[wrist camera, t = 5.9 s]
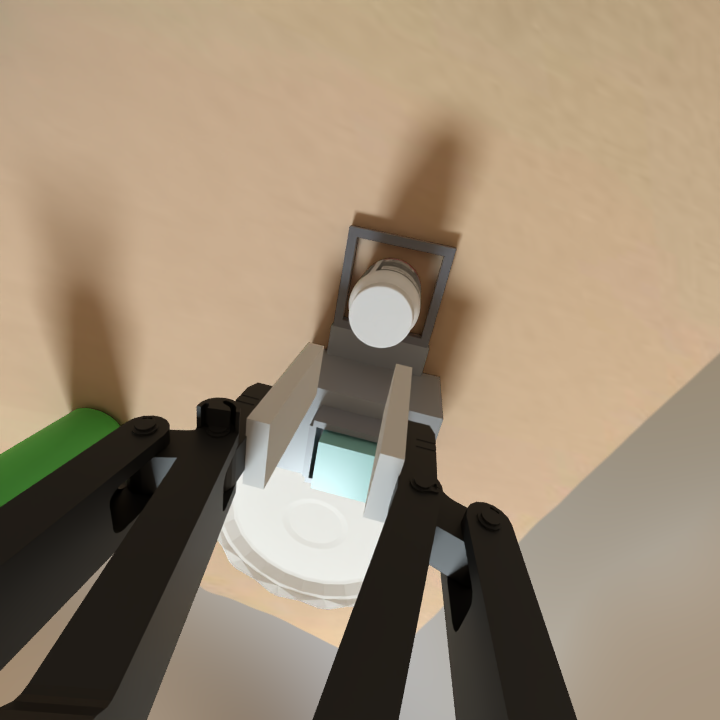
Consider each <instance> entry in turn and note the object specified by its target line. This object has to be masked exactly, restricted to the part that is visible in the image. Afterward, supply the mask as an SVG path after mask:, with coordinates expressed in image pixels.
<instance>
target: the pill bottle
mask: <svg viewBox="0 0 720 720" xmlns="http://www.w3.org/2000/svg"><path fill="white" fill-rule="evenodd" d="M420 307H421V283H420V279H419V276H418V274H417V273H416V271H415V270H414V269H413V267H412V266H410V265H409V264H408V263H406V262H404V261H402V260H399V259H394V258H388V259H383V260H380V261H378V262H376V263H374V264H373V265H372V266H370V267H369V268H368V270H367V271H366V272H365V273H364V275H363V276H362V277H361V278H360V280H359V281H358V282H357V283H356V285H355V286H354V288H353V290H352V292H351V295H350V299H349V322H350V326H351V329H352V330H353V332H354V334H355V335H356V336H357V337H358V338H359V339H360V340H361V341H362V342H363V343H365V344H367V345H369V346H372V347H377V348H386V347H391V346H394V345H396V344H398V343H400V342H401V341H402V340H403V339H404V338H405V337H406V336H407V335H408V333H409V332H410V330H411V329H412V328H413V326H414V325H415V323H416V322H417V319H418V317H419V313H420Z"/></svg>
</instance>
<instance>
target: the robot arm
mask: <svg viewBox="0 0 720 720" xmlns="http://www.w3.org/2000/svg"><path fill="white" fill-rule="evenodd" d="M323 351H324V346H322V345H318V344H314V343H310V342H309V343H308V344H307V345H306V346H305V347H304V349H303V350H302V351H301V352H300V354H299V355H298V356H297V357H296V359H295V360H294V361H293V362H292V363H291V365H290V366H289V367H288V368H287V370H286V371H285V372H284V373H283V374H282V376H281V377H280V378H279V379H278V381H277V382H276V383H275V384H274V385H273V386H269V385H265V384H261V383H256V384H254V385H252V386H250V387H248V388H247V389H246V390H245V391H244V392H243V393H242V394H241V396H239V397H238V398H237V399H236V401H233V400H231V399H227V398H211V399H207V400H205V401H202V402H201V403H200V404H198V405H197V428H196V430H170V425H169V423H168V421H167V420H166V419H164V418H162V417H158V416H142V417H138V418H134V419H132V420H130V421H128V422H126V423H125V424H123V425H122V426H120V427H119V428H117V429H116V430H114V431H113V432H111V433H110V434H108V435H107V436H105V437H104V438H102V439H101V440H99V441H98V442H96V443H95V444H93V445H92V446H90V447H89V448H87V449H86V450H84V451H83V452H81V453H80V454H78V455H77V456H75V457H74V458H72V459H71V460H69V461H68V462H66V463H65V464H63V465H62V466H61V467H59V468H58V469H56V470H55V471H53V472H52V473H50V474H49V475H47V476H46V477H44V478H43V479H41V480H40V481H38V482H37V483H35V484H34V485H32V486H31V487H29V488H28V489H26V490H25V491H23V492H22V493H20V494H19V495H17V496H16V497H14V498H13V499H11V500H10V501H8V502H7V503H5V504H4V505H2V506H1V507H0V670H1V669H3V667H4V666H5V665H6V664H7V663H8V662H9V661H10V660H11V659H12V658H13V657H14V656H15V655H16V654H17V653H18V652H19V651H20V650H21V649H22V648H23V647H24V645H26V644H27V642H28V641H30V639H31V638H32V637H33V636H34V635H35V634H36V633H37V632H38V631H39V630H40V629H41V628H42V627H43V626H44V625H45V624H46V623H47V622H48V621H49V620H50V619H51V618H52V617H53V616H54V614H56V613H57V612H58V610H60V608H61V607H62V606H63V605H64V604H65V603H66V602H67V601H68V600H69V599H70V598H71V597H72V596H73V595H74V594H75V593H76V592H77V591H78V590H79V589H80V588H81V587H82V586H83V585H84V584H85V583H86V582H87V581H88V579H89V578H90V577H91V576H92V575H93V574H94V573H95V572H96V571H97V570H98V569H99V568H100V567H101V566H102V565H103V564H104V563H105V562H106V561H107V560H108V559H109V558H110V557H111V556H112V555H113V556H112V557H111V559H110V560H109V562H108V564H107V565H106V567H105V568H104V570H103V571H102V573H101V574H100V576H99V578H98V579H97V580H96V582H95V583H94V585H93V586H92V588H91V590H90V591H89V592H88V594H87V596H86V597H85V599H84V600H83V602H82V603H81V605H80V606H79V608H78V609H77V611H76V612H75V614H74V615H73V617H72V618H71V620H70V621H69V623H68V625H67V626H66V627H65V629H64V630H63V632H62V634H61V635H60V637H59V638H58V640H57V641H56V643H55V644H54V646H53V647H52V649H51V650H50V652H49V653H48V655H47V656H46V658H45V659H44V661H43V663H42V664H41V666H40V667H39V669H38V670H37V672H36V673H35V675H34V676H33V678H32V679H31V681H30V683H29V684H28V685H27V686H26V688H25V689H24V691H23V692H22V693H21V694H20V695H19V696H18V697H17V698H16V699H15V700H14V701H12V702H10V703H8V704H6V705H4V706H2V707H0V720H147V718H148V715H149V713H150V710H151V708H152V705H153V702H154V700H155V697H156V695H157V692H158V690H159V687H160V685H161V682H162V679H163V677H164V675H165V672H166V669H167V667H168V664H169V661H170V659H171V657H172V654H173V652H174V649H175V646H176V643H177V641H178V638H179V636H180V634H181V631H182V629H183V626H184V623H185V621H186V618H187V615H188V613H189V611H190V608H191V606H192V603H193V601H194V598H195V595H196V593H197V590H198V588H199V585H200V583H201V580H202V578H203V575H204V572H205V570H206V567H207V565H208V562H209V560H210V557H211V555H212V552H213V550H214V547H215V544H216V542H217V539H218V537H219V534H220V532H221V529H222V527H223V524H224V521H225V519H226V516H227V514H228V511H229V509H230V506H231V504H232V501H233V498H234V496H235V493H236V483H237V481H238V479H239V478H240V476H241V475H242V473H243V483H242V484H245V485H249V486H253V487H256V488H260V489H263V490H264V488H265V486H266V484H267V483H268V481H269V479H270V477H271V475H272V474H273V472H274V470H275V468H276V466H277V465H278V463H279V461H280V459H281V457H282V456H283V454H284V452H285V450H286V449H287V447H288V445H289V443H290V441H291V440H292V438H293V436H294V434H295V432H296V431H297V429H298V427H299V425H300V423H301V422H302V420H303V418H304V416H305V415H306V413H307V411H308V409H309V407H310V406H311V404H312V402H313V400H314V398H315V397H316V394H317V388H318V382H319V376H320V369H321V363H322V357H323ZM411 377H412V367H408V366H404V365H400V364H396V367H395V370H394V374H393V378H392V382H391V386H390V390H389V394H388V397H387V401H386V405H385V409H384V413H383V418H382V423H381V428H380V433H379V438H378V443H377V448H376V453H375V458H374V463H373V468H372V474H371V479H370V484H369V489H368V494H367V499H366V504H365V509H364V514H363V517H365V518H368V519H372V520H375V521H379V522H383V523H384V525H383V528H382V531H381V534H380V536H379V539H378V542H377V545H376V547H375V550H374V553H373V556H372V558H371V561H370V564H369V567H368V569H367V572H366V575H365V578H364V580H363V583H362V586H361V589H360V591H359V594H358V597H357V599H356V602H355V605H354V608H353V610H352V613H351V616H350V619H349V621H348V624H347V627H346V630H345V632H344V635H343V638H342V641H341V643H340V646H339V649H338V652H337V654H336V657H335V660H334V663H333V665H332V668H331V671H330V673H329V676H328V679H327V682H326V684H325V687H324V690H323V693H322V695H321V698H320V701H319V704H318V706H317V709H316V712H315V715H314V717H313V720H399V715H400V709H401V704H402V699H403V694H404V689H405V684H406V679H407V674H408V668H409V663H410V658H411V653H412V648H413V643H414V638H415V633H416V628H417V622H418V617H419V612H420V607H421V602H422V597H423V592H424V587H425V581H426V576H427V571H428V566H429V565H431V566H432V567H434V568H435V569H437V570H439V571H440V572H441V582H442V591H443V601H444V610H445V620H446V630H447V639H448V648H449V659H450V668H451V678H452V687H453V697H454V707H455V716H456V720H577V718H576V715H575V712H574V709H573V706H572V703H571V700H570V697H569V694H568V691H567V688H566V685H565V682H564V679H563V676H562V673H561V670H560V667H559V664H558V661H557V658H556V655H555V652H554V649H553V646H552V643H551V640H550V638H549V634H548V631H547V628H546V625H545V622H544V620H543V616H542V613H541V610H540V607H539V604H538V601H537V598H536V595H535V592H534V589H533V586H532V584H531V580H530V578H529V575H528V572H527V568H526V566H525V563H524V560H523V556H522V553H521V551H520V548H519V545H518V542H517V539H516V536H515V533H514V530H513V527H512V524H511V522H510V521H509V519H508V517H507V516H506V515H505V514H504V513H503V512H502V511H501V510H499V509H498V508H496V507H495V506H493V505H490V504H487V503H485V502H475V503H472V504H470V505H469V507H468V508H467V507H465V506H463V505H461V504H459V503H457V502H455V501H454V500H452V499H451V498H449V497H448V496H447V495H446V494H445V493H444V492H443V490H442V486H441V484H440V482H439V481H438V480H437V463H436V445H435V444H436V438H435V433H434V432H433V430H432V428H431V427H430V425H426V424H422V423H418V422H414V421H410V420H408V414H409V402H410V389H411Z"/></svg>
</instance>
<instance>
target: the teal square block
mask: <svg viewBox="0 0 720 720" xmlns="http://www.w3.org/2000/svg"><path fill="white" fill-rule="evenodd" d="M376 448H377V443H376V442H372V441H368V440H364V439H360V438H356V437H352V436H349V435H345V434H341V433H337V432H333V431H329V430H326V429H324V431H323V433H322V435H321V438H320V440H319V443H318V448H317V454H316V460H315V466H314V472H313V478H312V484H311V488H313V489H316V490H320V491H324V492H327V493H331V494H335V495H338V496H342V497H346V498H349V499H353V500H357V501H360V502H364V503H366V499H367V494H368V489H369V484H370V479H371V474H372V468H373V463H374V458H375V453H376Z"/></svg>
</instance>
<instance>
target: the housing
mask: <svg viewBox="0 0 720 720" xmlns="http://www.w3.org/2000/svg"><path fill="white" fill-rule="evenodd" d="M358 237H359V238H363V239H368V240H372V241H377V242H382V243H386V244H391V245H395V246H400V247H405V248H409V249H414V250H418V251H423V252H427V253H432V254H437V255H441V256H444V257H443V260H442V264H441V268H440V271H439V275H438V278H437V282H436V285H435V289H434V293H433V296H432V300H431V303H430V307H429V310H428V314H427V318H426V321H425V325H424V328H423V332H422V335H418V334H414V333H408V335H407V336H406V337H405V338H404V339H403V340H402V341H401V342H400V343H398V344H396V345H394V346H391V347H386V348H377V347H372V346H369V345H367V344H365V343H363V342H362V341H361V340H360V339H359V338H358V337H357V336H356V335H355V334H354V332H353V330H352V329H351V326H350V322H349V318H346V317H344V316H345V311H346V305H347V299H348V294H349V288H350V282H351V277H352V271H353V265H354V260H355V254H356V248H357V243H358ZM455 252H456V248H455V247H450V246H446V245H441V244H437V243H432V242H427V241H423V240H418V239H413V238H409V237H404V236H399V235H395V234H390V233H386V232H381V231H376V230H372V229H367V228H362V227H358V226H353V225H351V226H350V227H349V233H348V239H347V245H346V251H345V257H344V264H343V270H342V276H341V282H340V288H339V294H338V300H337V306H336V312H335V318H334V322H333V324H332V325H331V331H330V337H329V343H328V349H327V350H326V349H324V351H323V357H322V363H321V369H320V376H319V382H318V388H317V394H316V397H315V398H314V400H313V402H312V404H311V406H310V407H309V409H308V411H307V413H306V415H305V416H304V418H303V420H302V422H301V423H300V425H299V427H298V429H297V431H296V432H295V434H294V436H293V438H292V440H291V441H290V443H289V445H288V447H287V449H286V450H285V452H284V454H283V456H282V457H281V459H280V461H279V463H278V465H277V466H276V467H279V468H282V469H286V470H290V471H293V472H297V473H301V474H302V476H304V477H305V480H304V482H307V483H310V484H312V478H313V472H314V466H315V460H316V454H317V448H318V443H319V440H320V438H321V435H322V433H323V431H324V429H326V430H329V431H333V432H337V433H341V434H345V435H349V436H352V437H356V438H360V439H364V440H368V441H372V442H376V443H378V438H379V433H380V428H381V423H382V418H383V413H384V409H385V405H386V401H387V397H388V394H389V390H390V386H391V382H392V378H393V374H394V370H395V367H396V364H400V365H404V366H408V367H412V377H411V389H410V402H409V414H408V420H410V421H414V422H418V423H422V424H426V425H430V427H431V428H432V430H433V432H434V433H435V438H436V439H437V436H438V433H439V430H440V427H441V424H442V421H443V410H442V397H441V384H440V377H437V376H433V375H429V374H425V373H422V372H423V368H424V365H425V361H426V358H427V355H428V351H429V345H428V344H429V341H430V337H431V334H432V330H433V327H434V324H435V320H436V317H437V313H438V310H439V306H440V303H441V300H442V296H443V293H444V289H445V286H446V282H447V279H448V276H449V272H450V269H451V265H452V262H453V259H454V255H455Z"/></svg>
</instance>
